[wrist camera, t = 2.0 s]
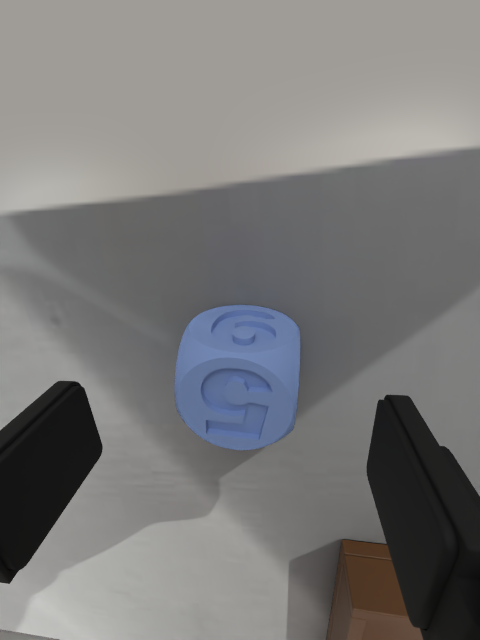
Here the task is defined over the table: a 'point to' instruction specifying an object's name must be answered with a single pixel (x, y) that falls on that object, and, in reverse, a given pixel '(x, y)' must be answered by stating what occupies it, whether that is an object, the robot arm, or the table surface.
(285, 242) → the table surface
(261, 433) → the decorative dice
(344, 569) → the tray
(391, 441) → the robot arm
